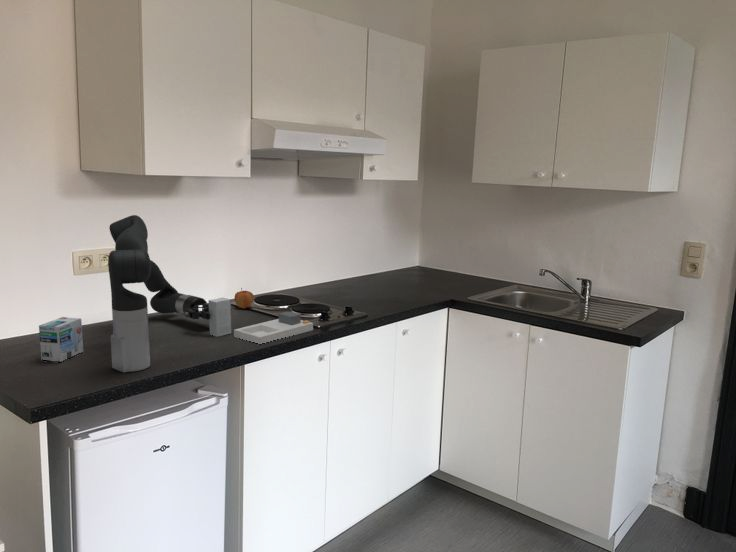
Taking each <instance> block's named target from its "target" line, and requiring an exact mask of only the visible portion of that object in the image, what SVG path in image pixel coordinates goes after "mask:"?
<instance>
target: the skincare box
mask: <svg viewBox="0 0 736 552" xmlns="http://www.w3.org/2000/svg"><path fill="white" fill-rule="evenodd" d="M208 303H209V313H210V319H209V320H208V321H209V322H208V323H209V335H210V336H212V335H213V336H212V337H217V338H218V337H222V336H225V335H229V334H230V335H231V334H232V308H231V299H230V298H226V297H219V298H214V299H208Z"/></svg>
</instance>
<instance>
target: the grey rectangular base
mask: <svg viewBox="0 0 736 552" xmlns="http://www.w3.org/2000/svg"><path fill="white" fill-rule="evenodd" d="M301 316H302V315H301V314H299V313H296V312H293V311H283V312H280V313H278V318H277V319H273V320H268V321H264V322H259V323H256V324H251V325H247V326H243V327H240V328H236V329H233V337H234V338H236V339H239V338H240V340H242V339H243V340H242V341H246V340H247V341H246V342H249V341H251V342H250V343H252V342H255V343H258V344H257V345H259V344H262V343H265V344H267V343H266V342H269V343H271V342H270V341H272V342H274V341H273V340H276V341H278V340H277V339H279V340H282V339H281V338H283V339H286V338H290V337H293V335H294V336H297V335H299V334H300V335H301V334H305V333H307V332H312V331H314V323H313V322H311V321H310V320H302V318H301ZM289 336H290V337H289ZM285 337H286V338H285ZM255 343H254V344H255ZM262 345H263V344H262Z"/></svg>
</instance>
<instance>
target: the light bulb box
mask: <svg viewBox="0 0 736 552" xmlns="http://www.w3.org/2000/svg"><path fill="white" fill-rule="evenodd" d="M82 324H83V323H82V318H79V317H78V318H77V317H67V316H61V317H58V318H56V319H54V320H51V321H48V322H45V323H43V324H39V325H38V332H39V334H38V335H39V344H40V356H41V358H40V359H41V360H42V359H43V360H51V361H60V362H61V361H63V360H65V359H67V358H69V357H72V356H74V355H76V354H78V353H81V352H83V353H84V343H83V340H84V339H83V325H82Z"/></svg>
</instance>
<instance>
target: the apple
mask: <svg viewBox="0 0 736 552" xmlns="http://www.w3.org/2000/svg"><path fill="white" fill-rule="evenodd" d="M234 301H235V305H236V307H238V308H240V309H243V310H245V309H247V307H248V308H249V307H251V306H252V304H253V302H254V294H253V292H251V291H248V290H243V288H242V287H241V291H237V292H235V295H234Z"/></svg>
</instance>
